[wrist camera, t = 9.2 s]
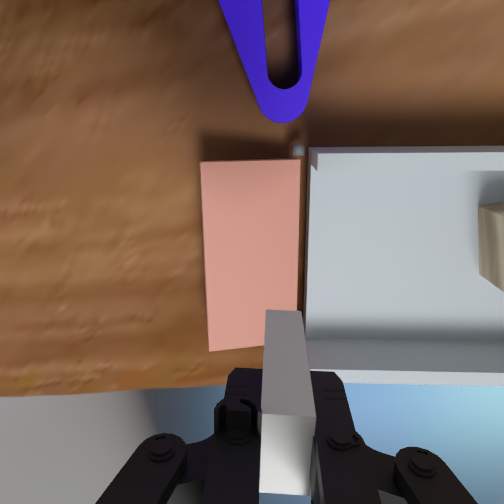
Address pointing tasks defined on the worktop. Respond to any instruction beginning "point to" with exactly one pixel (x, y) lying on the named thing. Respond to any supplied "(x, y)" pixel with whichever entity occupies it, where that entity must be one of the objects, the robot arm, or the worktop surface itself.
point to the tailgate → (248, 246)
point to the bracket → (254, 53)
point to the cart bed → (401, 265)
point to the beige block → (491, 243)
